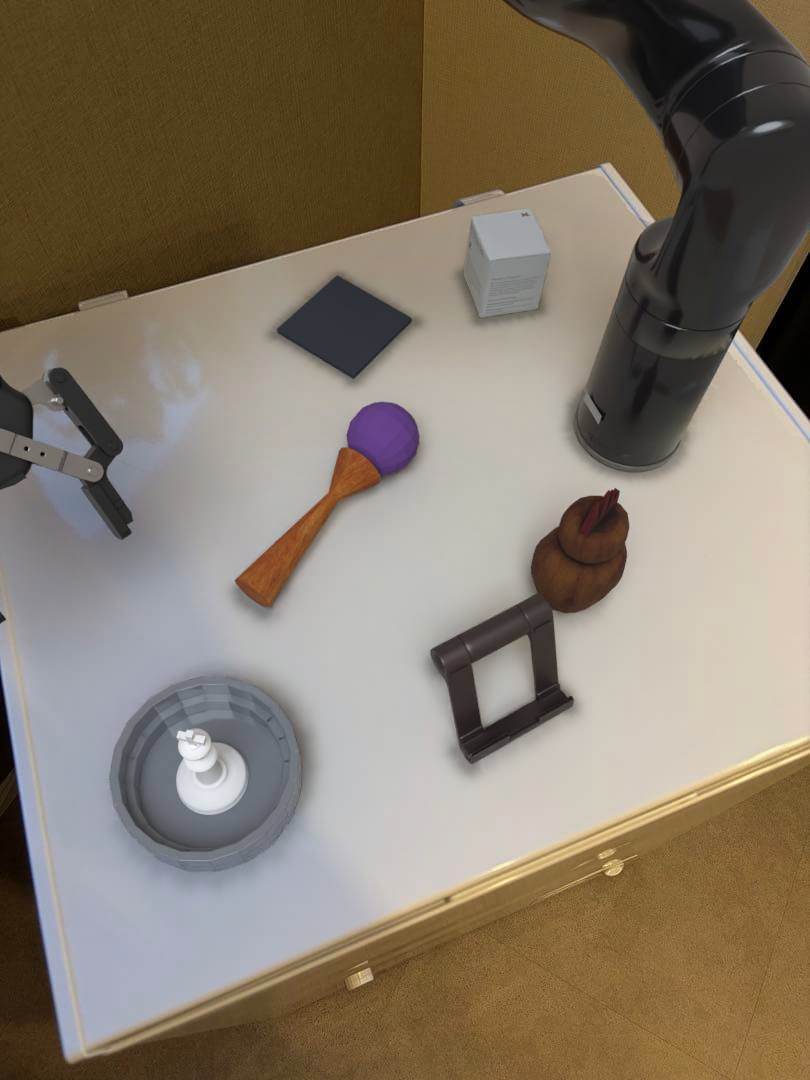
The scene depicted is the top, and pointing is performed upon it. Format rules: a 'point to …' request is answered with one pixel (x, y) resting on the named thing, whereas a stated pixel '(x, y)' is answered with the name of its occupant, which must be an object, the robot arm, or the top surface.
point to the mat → (344, 326)
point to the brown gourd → (582, 554)
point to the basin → (154, 759)
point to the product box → (506, 262)
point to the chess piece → (209, 773)
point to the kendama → (338, 491)
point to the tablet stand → (484, 640)
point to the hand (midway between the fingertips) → (64, 576)
